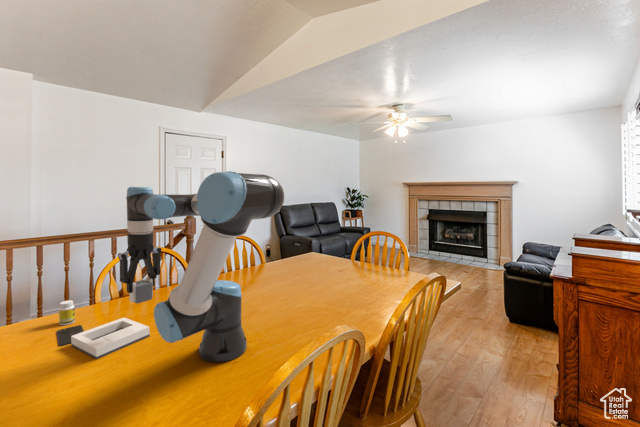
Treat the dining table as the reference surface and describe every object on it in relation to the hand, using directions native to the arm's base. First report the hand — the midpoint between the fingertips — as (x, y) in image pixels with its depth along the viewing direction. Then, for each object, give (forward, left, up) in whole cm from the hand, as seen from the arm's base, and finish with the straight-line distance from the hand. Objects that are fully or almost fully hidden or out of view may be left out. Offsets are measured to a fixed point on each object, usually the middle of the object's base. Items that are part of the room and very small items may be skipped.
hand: (141, 298), depth 102 cm
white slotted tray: (+10, +5, -16) cm, 19 cm away
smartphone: (+27, +10, -16) cm, 33 cm away
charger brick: (0, 0, 0) cm, 1 cm away
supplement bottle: (+40, +6, -16) cm, 43 cm away
